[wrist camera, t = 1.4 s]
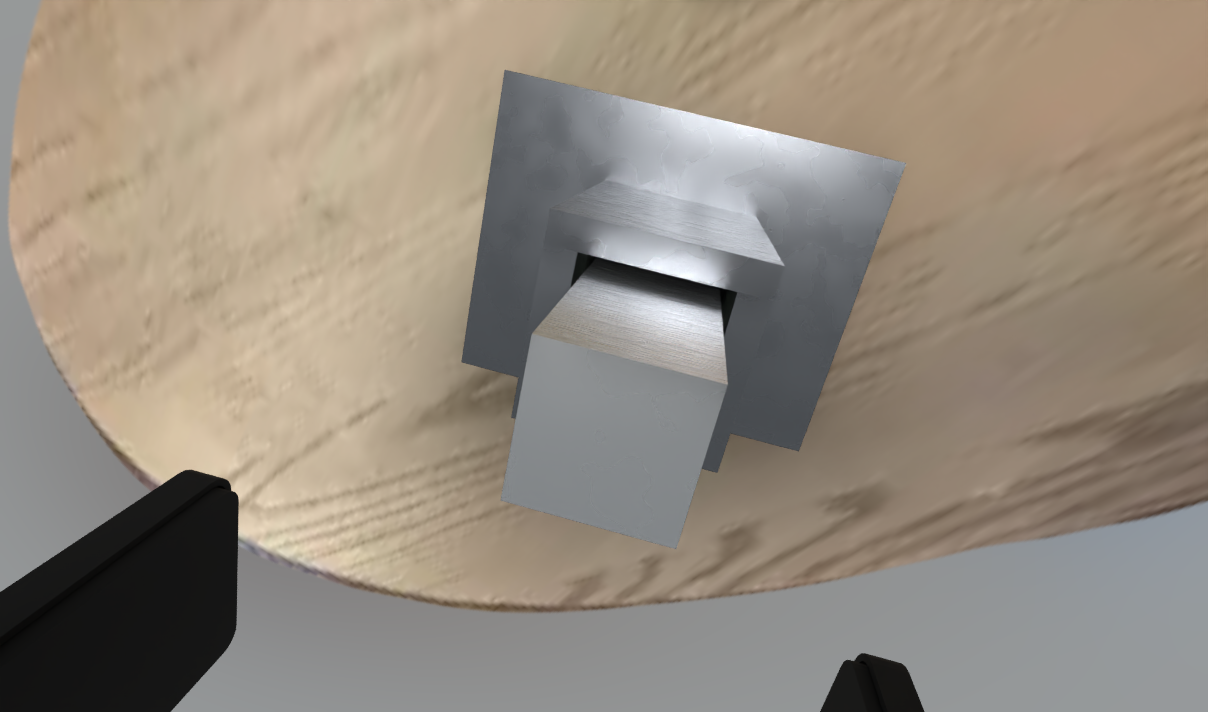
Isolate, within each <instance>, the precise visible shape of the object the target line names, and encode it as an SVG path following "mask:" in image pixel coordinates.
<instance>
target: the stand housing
mask: <svg viewBox="0 0 1208 712" xmlns="http://www.w3.org/2000/svg"><path fill="white" fill-rule="evenodd" d="M905 165H906V163H904V162H899V161H895V160H891V159H887V158H882V157H878V156H874V155H869V154H865V153H861V152H856V151H852V150H848V149H844V148H839V147H835V146H831V145H826V144H822V143H818V142H813V141H809V140H805V139H800V138H796V137H792V136H788V135H783V134H779V133H775V132H770V131H766V130H762V129H757V128H753V127H749V126H745V125H740V124H736V123H732V122H727V121H723V120H719V119H714V118H710V117H706V116H701V115H697V114H693V113H689V112H684V111H680V110H676V109H671V108H667V107H663V106H658V105H654V104H650V103H645V102H641V101H637V100H633V99H628V98H624V97H620V96H615V95H611V94H607V93H602V92H598V91H594V90H590V89H585V88H581V87H577V86H572V85H568V84H564V83H559V82H555V81H551V80H546V79H542V78H538V77H534V76H529V75H525V74H521V73H516V72H512V71H508V70H505V72H504V78H503V85H502V92H501V99H500V105H499V112H498V119H497V126H496V132H495V139H494V146H493V153H492V160H491V166H490V173H489V180H488V187H487V193H486V200H485V207H484V214H483V220H482V227H481V234H480V241H479V247H478V254H477V261H476V268H475V275H474V281H473V288H472V295H471V302H470V308H469V315H468V322H467V329H466V335H465V342H464V349H463V356H462V362H463V363H466V364H470V365H474V366H478V367H482V368H485V369H489V370H493V371H497V372H500V373H504V374H508V375H512V376H516V377H519V378H518V384H517V389H516V395H515V400H514V406H513V411H512V416H511V418H515V419H516V415H517V410H518V405H519V399H520V394H521V389H522V383H523V378H524V373H525V367H526V362H527V357H528V351H529V346H530V341H531V335H532V333H533V332H534V331H535V329H536V328H537V327H538V326H539V325H540V324H541V322H542V321H543V320H544V319H545V318H546V317H547V315H548V314H549V313H550V312H551V311H552V310H553V308H554V307H555V306H556V305H557V304H558V302H559V301H560V300H561V299H562V298H563V297H564V295H565V294H566V293H567V292H568V291H569V290H570V288H571V287H572V286H573V285H574V284H575V283H576V281H577V280H578V279H579V278H580V277H581V276H582V274H583V273H584V272H585V271H586V270H587V268H588V267H589V266H590V265H591V264H592V263H593V261H594V260H595V259H596V258H597V257H599V258H603V259H607V260H611V261H615V262H619V263H623V264H627V265H631V266H635V267H639V268H643V269H647V270H651V271H655V272H659V273H663V274H667V275H671V276H675V277H679V278H683V279H687V280H691V281H695V282H699V283H703V284H707V285H711V286H715V287H719V288H720V300H721V312H722V323H723V335H724V346H725V358H726V370H727V381H728V386H727V389H726V392H725V395H724V398H723V402H722V405H721V408H720V411H719V414H718V418H717V421H716V424H715V427H714V430H713V433H712V437H711V440H710V443H709V446H708V449H707V453H706V456H705V459H704V462H703V465H702V468H701V469H705V470H709V471H712V472H716V473H717V472H718V469H719V466H720V463H721V460H722V457H723V454H724V451H725V448H726V445H727V442H728V439H729V436H730V433H731V434H735V435H739V436H743V437H746V438H750V439H754V440H758V441H762V442H765V443H769V444H773V445H777V446H780V447H784V448H788V449H792V450H796V451H799V449H800V446H801V444H802V441H803V438H804V436H805V433H806V430H807V428H808V425H809V422H810V420H811V417H812V414H813V411H814V409H815V406H816V403H817V401H818V398H819V395H820V393H821V390H822V387H823V385H824V382H825V379H826V377H827V374H828V371H829V369H830V366H831V363H832V361H833V358H834V355H835V353H836V350H837V347H838V345H839V342H840V339H841V336H842V334H843V331H844V328H845V326H846V323H847V320H848V318H849V315H850V312H851V310H852V307H853V304H854V302H855V299H856V296H857V294H858V291H859V288H860V286H861V283H862V280H863V278H864V275H865V272H866V270H867V267H868V264H869V261H870V259H871V256H872V253H873V251H874V248H875V245H876V243H877V240H878V237H879V235H880V232H881V229H882V227H883V224H884V221H885V219H886V216H887V213H888V211H889V208H890V205H891V203H892V200H893V197H894V194H895V192H896V189H897V186H898V184H899V181H900V178H901V176H902V173H903V170H904V168H905Z"/></svg>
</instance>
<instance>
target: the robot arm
mask: <svg viewBox="0 0 1208 712" xmlns="http://www.w3.org/2000/svg"><path fill="white" fill-rule="evenodd" d="M238 504H239V501H238V495H237V494H236V493H235V492H233V491H231V485H230V483H229V481H228V480H226V479H223V478H220V477H216V476H212V475H209V474H205V473H201V472H198V471H194V470H185V471H183V472H181V473H179V474H177V475H176V476H174V477H173V478H171V479H170V480H168V481H167V482H165V483H164V484H162V485H161V486H159V487H158V488H156V489H155V490H153V491H152V492H150V493H149V494H147V495H146V496H144V497H143V498H141V499H140V500H138V501H137V502H135V503H134V504H132V505H131V506H129V507H128V508H126V509H125V510H123V511H122V512H120V513H119V514H117V515H116V516H114V517H113V518H111V519H110V520H108V521H107V522H105V523H104V524H102V525H101V526H99V527H98V528H96V529H94V530H93V531H92V532H90V533H88V534H87V535H85V536H84V537H82V538H81V539H79V540H78V541H76V542H75V543H73V544H72V545H70V546H69V547H67V548H66V549H64V550H63V551H61V552H60V553H59V554H57V555H55V556H54V557H52V558H51V559H49V560H48V561H46V562H45V563H43V564H42V565H40V566H39V567H37V568H36V569H34V570H33V571H31V572H30V573H28V574H27V575H25V576H24V577H22V578H21V579H19V580H18V581H16V582H15V583H13V584H12V585H10V586H9V587H7V588H6V589H4V590H3V591H1V592H0V712H171V711H172V710H173V708H174V707H175V706H176V705H177V704H178V703H179V702H180V701H181V699H182V698H183V697H184V696H185V695H186V694H187V693H188V692H189V691H190V690H191V688H192V687H193V686H194V685H195V684H196V682H198V681H199V680H200V678H201V677H202V676H203V675H204V674H205V673H206V672H207V671H208V669H210V667H211V666H212V665H213V664H214V663H215V662H216V661H217V660H218V659H219V657H220V656H221V655H222V654H223V653H224V652H225V650H226V649H227V648H228V646H229V645H230V643H231V641H232V639H233V637H234V634H235V630H236V621H237V620H236V618H237V617H236V616H237V559H238ZM820 712H924V710H923V707H922V705H921V702H920V699H919V697H918V694H917V692H916V689H915V687H914V685H913V682H912V679H911V677H910V674H909V672H908V670H907V668H906V667H905V666H904V665H903V664H901V663H898V662H894V661H891V660H887V659H883V658H880V657H876V656H872V655H869V654H865V653H864V654H863V653H862V654H860V655H858V656H857V658H856V660H855V661H851V660H846V661H844V662H843V664H842V666H841V668H840V670H839V672H838V674H837V676H836V679H835V681H834V683H833V685H832V687H831V689H830V692H829V694H828V696H827V698H826V700H825V702H824V705H823V707H822V709H821V711H820Z"/></svg>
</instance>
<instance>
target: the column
mask: <svg viewBox="0 0 1208 712" xmlns="http://www.w3.org/2000/svg"><path fill="white" fill-rule="evenodd" d="M727 386H728V381H727V370H726V358H725V346H724V335H723V323H722V312H721V300H720V288H719V287H715V286H711V285H707V284H703V283H699V282H695V281H691V280H687V279H683V278H679V277H675V276H671V275H667V274H663V273H659V272H655V271H651V270H647V269H643V268H639V267H635V266H631V265H627V264H623V263H619V262H615V261H611V260H607V259H603V258H599V257H597V258H596V259H595V260H594V261H593V263H592V264H591V265H590V266H589V267H588V268H587V270H586V271H585V272H584V273H583V274H582V276H581V277H580V278H579V279H578V280H577V281H576V283H575V284H574V285H573V286H572V287H571V288H570V290H569V291H568V292H567V293H566V294H565V295H564V297H563V298H562V299H561V300H560V301H559V302H558V304H557V305H556V306H555V307H554V308H553V310H552V311H551V312H550V313H549V314H548V315H547V317H546V318H545V319H544V320H543V321H542V322H541V324H540V325H539V326H538V327H537V328H536V329H535V331H534V332H533V333H532V335H531V341H530V346H529V351H528V357H527V362H526V367H525V373H524V378H523V383H522V389H521V394H520V399H519V405H518V410H517V415H516V421H515V426H514V431H513V437H512V442H511V447H510V453H509V458H508V463H507V469H506V474H505V479H504V485H503V490H502V495H501V501H505V502H508V503H512V504H515V505H519V506H523V507H526V508H530V509H533V510H537V511H541V512H544V513H548V514H551V515H555V516H559V517H562V518H566V519H569V520H573V521H577V522H580V523H584V524H587V525H591V526H595V527H598V528H602V529H605V530H609V531H613V532H616V533H620V534H623V535H627V536H631V537H634V538H638V539H641V540H645V541H649V542H652V543H656V544H659V545H663V546H667V547H670V548H674V549H676V548H677V545H678V542H679V538H680V535H681V532H682V529H683V526H684V523H685V519H686V516H687V513H688V510H689V507H690V503H691V500H692V497H693V494H694V491H695V488H696V484H697V481H698V478H699V475H700V472H701V468H702V465H703V462H704V459H705V456H706V453H707V449H708V446H709V443H710V440H711V437H712V433H713V430H714V427H715V424H716V421H717V418H718V414H719V411H720V408H721V405H722V402H723V398H724V395H725V392H726V389H727Z"/></svg>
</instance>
